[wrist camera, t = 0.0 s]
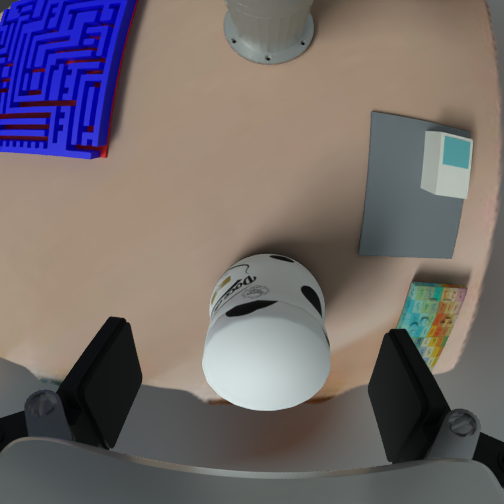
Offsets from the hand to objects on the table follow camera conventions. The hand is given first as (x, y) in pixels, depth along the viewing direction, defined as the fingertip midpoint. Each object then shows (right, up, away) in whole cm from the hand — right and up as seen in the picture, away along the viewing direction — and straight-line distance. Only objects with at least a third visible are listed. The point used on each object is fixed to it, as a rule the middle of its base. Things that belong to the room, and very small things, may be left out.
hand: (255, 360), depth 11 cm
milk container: (+2, -3, +41) cm, 41 cm away
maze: (-35, +35, +28) cm, 57 cm away
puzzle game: (+31, -10, +42) cm, 54 cm away
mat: (+26, +13, +33) cm, 44 cm away
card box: (+29, +18, +30) cm, 46 cm away
